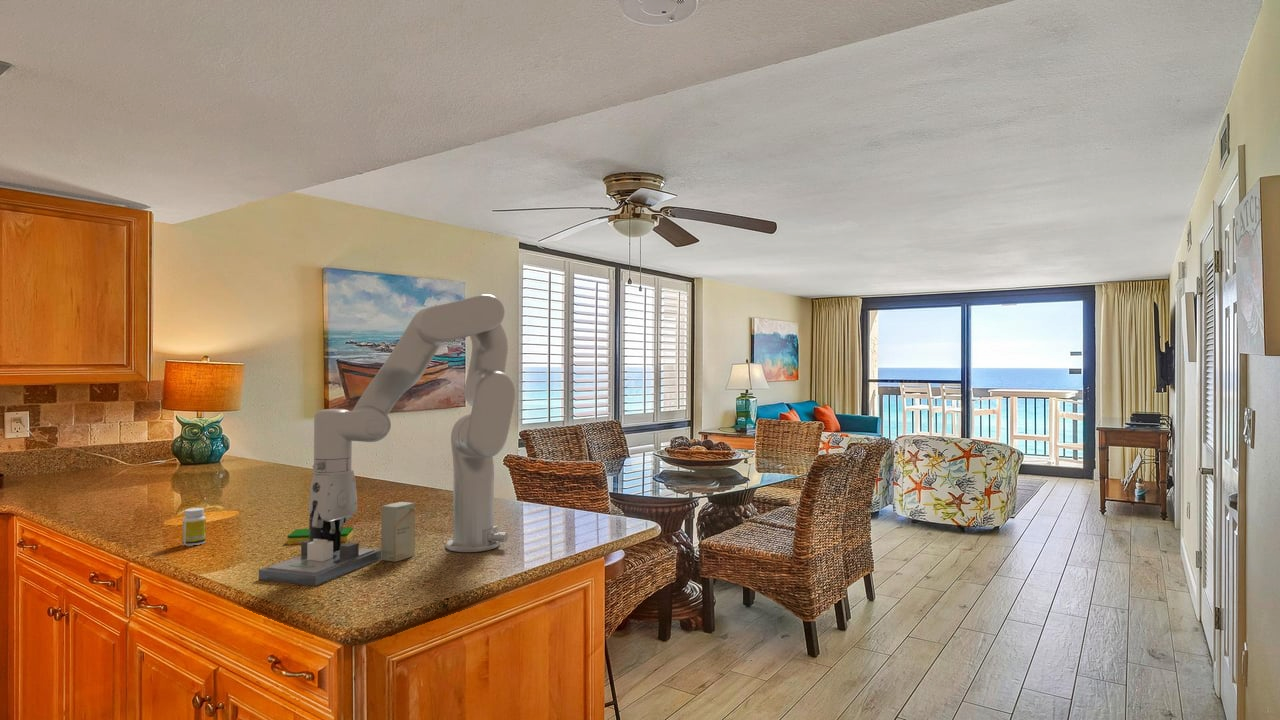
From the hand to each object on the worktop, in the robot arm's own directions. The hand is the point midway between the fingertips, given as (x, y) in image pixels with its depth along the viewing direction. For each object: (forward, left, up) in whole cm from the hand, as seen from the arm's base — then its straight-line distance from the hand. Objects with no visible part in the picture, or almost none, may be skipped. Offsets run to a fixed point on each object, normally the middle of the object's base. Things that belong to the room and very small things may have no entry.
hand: (331, 550), depth 151 cm
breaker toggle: (0, +4, -1) cm, 4 cm away
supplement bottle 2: (+10, -9, -4) cm, 14 cm away
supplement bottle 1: (+45, -5, -4) cm, 45 cm away
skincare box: (-10, -9, -4) cm, 14 cm away
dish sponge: (+19, -18, -4) cm, 27 cm away
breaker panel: (0, +3, -3) cm, 4 cm away
